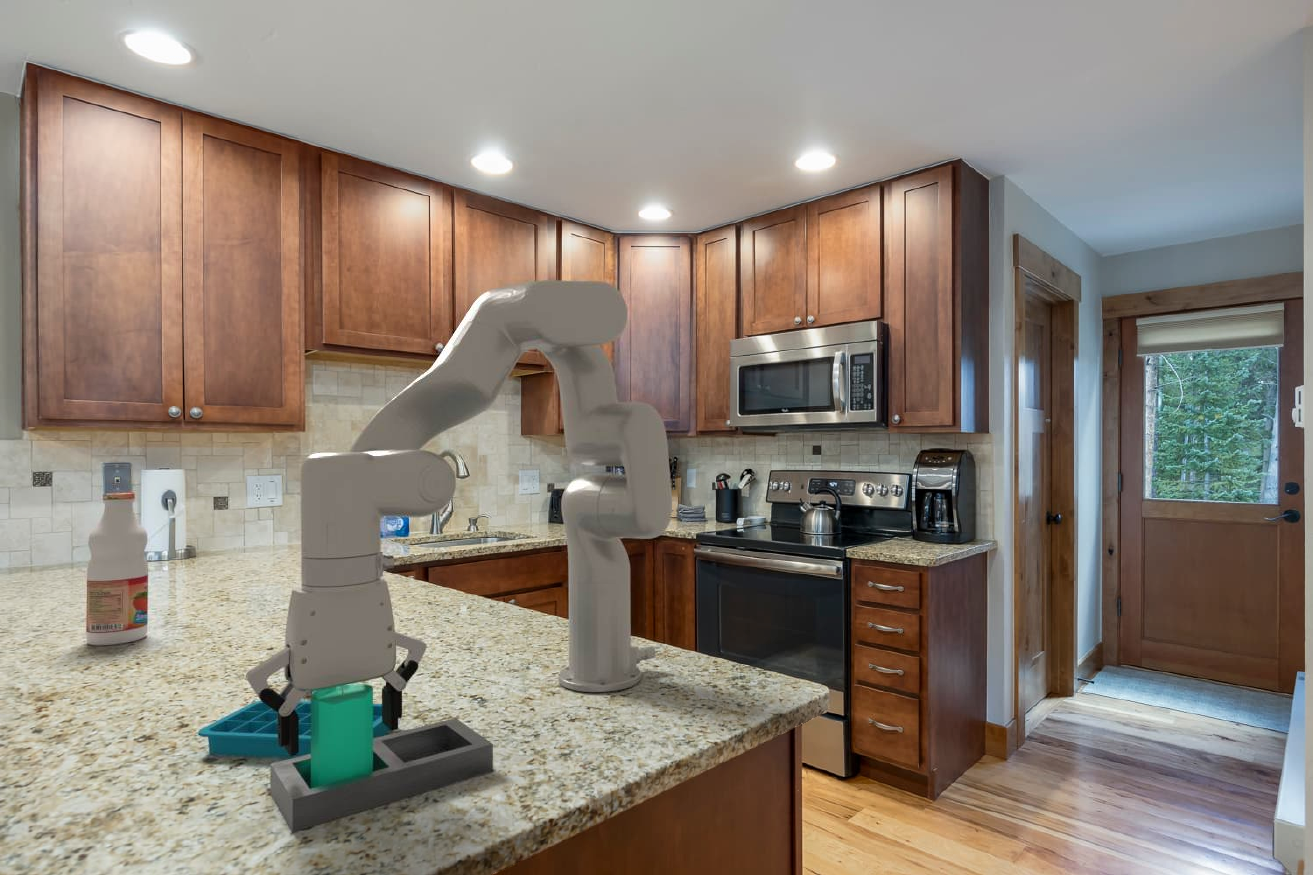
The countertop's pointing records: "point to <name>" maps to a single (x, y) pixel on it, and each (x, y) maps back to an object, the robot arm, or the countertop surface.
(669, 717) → the countertop surface
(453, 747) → the hollow block
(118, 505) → the fruit juice
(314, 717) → the candle
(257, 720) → the ice cube tray
